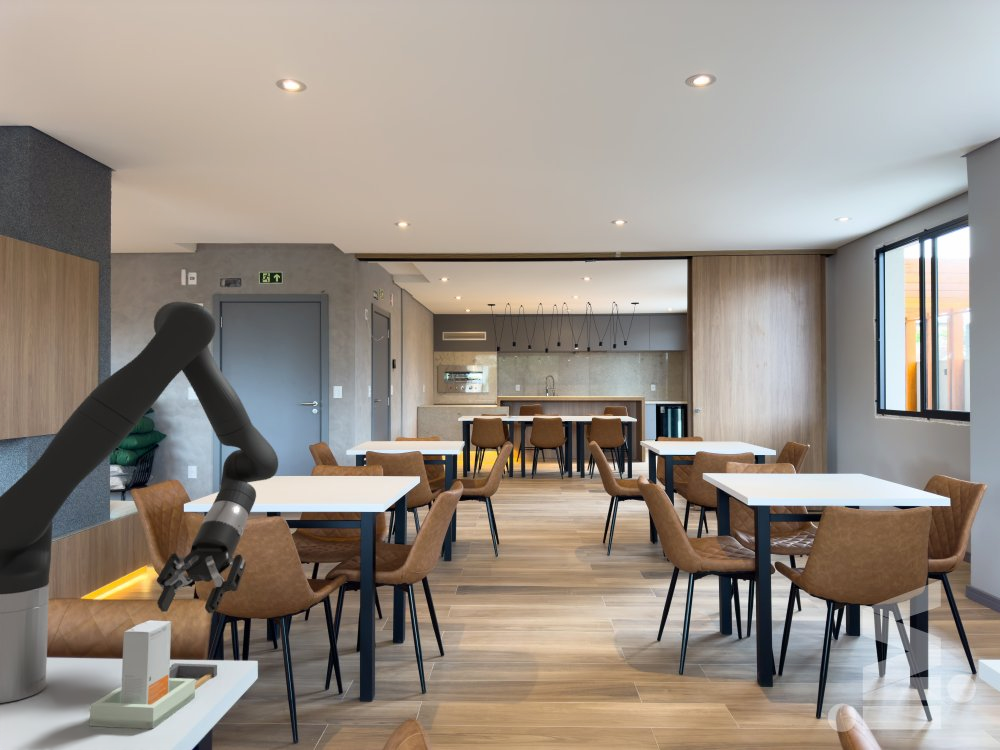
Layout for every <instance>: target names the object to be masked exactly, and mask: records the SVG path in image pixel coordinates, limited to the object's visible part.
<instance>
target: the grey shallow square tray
mask: <svg viewBox="0 0 1000 750" xmlns="http://www.w3.org/2000/svg"><path fill="white" fill-rule="evenodd" d="M217 676H218V664H207V663H206V664H205V663H204V664H203V663H181V662H180V663H176V662H175V663H173V664H170V669H169V678H178V677H194V678H195V677H197V678H199V679H198V680H197V681H196V680H195V690H196V689H197V688H199V687H200V686H202V685H203V684H205V683H206V682H207V681H209V680H210V679H211V678H215V677H217Z"/></svg>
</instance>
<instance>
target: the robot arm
mask: <svg viewBox="0 0 1000 750" xmlns="http://www.w3.org/2000/svg"><path fill="white" fill-rule="evenodd" d="M153 319H154V320H153V329H154V332H155V334H154V336H153V337H152V338H151V340H150V341H149V342H148V343H147V345H146V346H145V347H144V348H143V349H142V350H141V351H140V352H139V354H137V355H136V356H135V357H134V358H133V359H132V360H130V361H129V362H128V363H126V364H125V365H124V366H122V367H121V368H119V369H118V370H117V371H115V372H113V374H111V375H110V376H109V377H107V378H106V379H105V380H103V381H102V382H101V383H100V384H99V385H98V386H97V385H96V387H95V388H94V389H93V390H92V391H91V392H90V394H88V395H87V397H86V398H85V399H84V400H83V401H82V402H81V403H80V404H79V406H77V407H76V409H75V410H74V411H73V412H72V414H70V416H69V417H68V419H67V420H66V421H65V423H64V424H63V425H62V426H61V428H60V429H59V431H57V432H56V434H55V436H54V437H53V438H52V440H51V442H49V444H48V446H47V447H46V448H45V450H44V452H43V453H42V454H41V455H40V457H39V458H38V459H37V461H36V462H35V463H34V464H33V465H32V466H31V467H30V468H29V469H28V471H26V472H25V473H24V474H23V475H22V476H21V477H20V478H19V479H18V480H17V481H16V482H15V483H14V484H12V485H11V486H10V487H9V488H8V489H7V490H6V491H5V492H4V493H3V494H1V495H0V704H2V703H10V702H15V701H19V700H22V699H26V698H29V697H31V696H34V695H37V694H38V693H40V692H42V691H43V690H44V689H45V688H46V687H47V661H48V659H47V657H48V632H49V631H48V627H49V626H48V624H49V596H50V595H49V594H50V592H49V591H50V590H49V589H50V571H51V570H50V569H51V563H52V562H51V561H52V542H53V541H52V539H53V519H54V518H55V516H56V515H57V513H58V512H59V511H60V509H61V507H62V506H63V505H64V503H65V502H66V501H67V500H68V498H69V496H70V495H71V494H72V493H73V492H74V491H75V489H76V488H77V487H78V486H79V485H80V484H81V482H82V481H84V480H85V478H87V477H88V476H89V475H90V474H91V473H92V472H93V471H94V470H95V469H96V468H97V467H99V466H100V465H101V464H102V463H103V462H104V461H105V460H107V458H108V457H110V455H111V454H112V453H113V452H114V451H115V450H116V449H117V448H118V447H119V446H120V444H121V443H122V442H123V441H125V439H126V438H127V437H128V436H129V435H130V433H131V432H132V431H133V429H135V428H136V426H137V425H138V423H139V422H140V421H141V419H142V418H143V417H144V416H145V414H146V413H147V412H148V411H149V410H150V409H151V407H152V406H153V405H154V404H155V402H156V401H157V400H158V399H159V397H160V396H161V395H162V394H163V392H164V391H165V389H167V387H168V386H169V385H170V383H171V382H172V381H173V380H174V379H175V377H176V376H177V375H179V373H181V372H182V373H183V374H184V376H185V377H186V379H187V381H188V383H189V384H190V386H191V389H192V390H193V391H194V394H195V396H196V397H197V399H198V401H199V404H200V406H201V407H202V409H203V411H204V413H205V416H206V417H207V419H208V421H209V424H210V426H211V427H212V429H213V431H214V434H215V435H216V438H217V439H218V441H219V442H220V443H221V444H222V445H223V446H226V447H232V448H233V447H234V448H236V450H234V451H232V452H231V453H230V454H229V455H228V456H227V457H226V458H225V460H224V463H223V466H222V473H221V479H220V480H221V481H220V489H219V491H218V493H217V496H216V497H215V499H214V502H213V504H212V506H211V507H210V509H209V510H208V511H207V513H206V514H205V517H204V518H203V520H202V523H201V525H200V527H199V529H198V531H197V533H196V535H195V537H194V539H193V541H192V544H191V548H190V552H189V553H188V554H187V555H186V556H178V554H177V553H176V552H175V553H171V554H170V556H169V557H168V559H167V561H166V563H165V564H164V566H163V568H162V569H161V571H160V573H159V575H158V576H157V579H156V582H157V583H158V585H159V586H160V587H161V589H162V592H161V593H160V596H159V598H158V600H157V607H158V608H159V610H160V611H161V612H162V613H163V612H166V613H167V612H168V610H170V606H171V604H172V602H173V600H174V598H175V596H176V594H177V593H176V592H178V590H180V589H181V588H182V587H184V586H188V585H189V584H191V583H192V582H206V583H207V582H209V583H210V582H211V581H213V583H214V586H215V587H212V589H211V591H210V593H209V596H208V598H207V601H206V603H205V606H204V608H205V611H206V612H207V613H208V614H214V613H215V611H216V610H217V609H218V608H219V606H220V605H221V602H222V599H223V597H224V595H225V594H226V593H228V592H229V591H232V592H236V591H237V590H238V588H239V585H240V583H241V580H242V577H243V574H244V572H245V569H246V565H247V564H246V563H247V562H246V561H245V559H244V557H243V556H242V554H236V555H235V552H236V550H237V547H238V546H239V542H240V540H241V538H242V536H243V535H244V531H245V528H246V525H247V521H248V518H249V516H250V514H251V511H252V509H253V507H254V506H255V505H254V504H255V502H256V498H257V492H256V489H255V487H254V486H252V484H250V483H253V482H258V481H266V480H269V479H271V478H273V477H274V476H275V475H276V474H277V472H278V469H279V459H278V454H277V452H276V451H275V449H274V448H273V446H272V445H271V444H270V443H269V441H268V440H267V439H266V438H265V437H264V436H263V435H262V434H261V432H260V431H259V429H257V428H256V426H254V424H253V423H252V421H251V419H250V416H249V415H248V412H247V410H246V408H245V406H244V404H243V402H242V400H241V398H240V397H239V395H238V394H237V391H235V388H233V386H232V385H231V383H230V382H229V380H228V379H227V378H226V377H225V375H224V374H223V372H222V371H221V369H220V368H219V366H218V364H217V363H216V361H215V359H214V357H213V355H212V353H211V350H210V348H209V344H210V343H211V342H212V340H213V338H214V336H215V332H216V327H217V325H216V324H217V323H216V319H215V317H214V315H213V313H212V312H211V311H210V310H209V308H207V307H205V306H204V305H201V304H198V303H194V302H186V301H172V302H168V303H166V304H164V305H162V306H161V307H160V308H159V309H158V310H157V312H156V314H155V316H154V318H153ZM234 555H235V556H234ZM229 567H230V570H229V573H228V576H227V579H226V580H225V579H224V577H223V574H222V573H224V571H226V570H227V569H228V568H229ZM185 574H186V575H187V576H184V575H185Z"/></svg>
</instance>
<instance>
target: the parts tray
mask: <svg viewBox="0 0 1000 750" xmlns="http://www.w3.org/2000/svg"><path fill="white" fill-rule="evenodd" d="M195 682H196V678H181V677H179V678H178V677H176V678H169V693H168V694H166V695H165V696H163V697H162V698H160V699H159V700H157V701H156V702H154V703H153V704H151V705H148V704H125V703H121V690H122V685H121V686H120V687H118V688H116V689H115V690H113V691H112V692H109V693H107V695H105V696H102V697H101V698H99V699H98V700H97V701H95V702H93V703H91V704H90V706H89V708H90V709H89V726H90V727H105V728H107V727H109V728H126V729H128V728H129V729H131V728H132V729H148V730H149V729H151V730H153V729H154V728H156V727H158V726H159V725H160V724H161V722H162V723H163V722H164V721H165V719H166V720H167V719H168V718H170V717H171V716H173V714H175V713H176V712H178V711H180V710H181V709H182V708H183V707H184V706H186V705H187V704H188V703H190V702H191V701H193V700H194V699H195V698H196V697H195V696H196V689H195ZM169 716H170V717H169ZM158 724H159V725H158Z"/></svg>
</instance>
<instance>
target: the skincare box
mask: <svg viewBox="0 0 1000 750" xmlns="http://www.w3.org/2000/svg"><path fill="white" fill-rule="evenodd" d="M171 631H172V621H171V620H170V621H169V620H167V621H166V620H151V619H149V620H147V621H144V622H142V623H138V624H137V625H134V626H133V627H131V628H129V629H127V630H124V632H123V637H122V638H123V643H122V668H121V671H122V672H121V686H122V690H121V703H125V704H148V705H151V704H153V703H154V702H156V701H157V700H159V699H160V698H162V697H163V696H165V695H166V694H168V693H169V669H170V667H171V664H170V662H171V635H172V634H171V633H172V632H171Z"/></svg>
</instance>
